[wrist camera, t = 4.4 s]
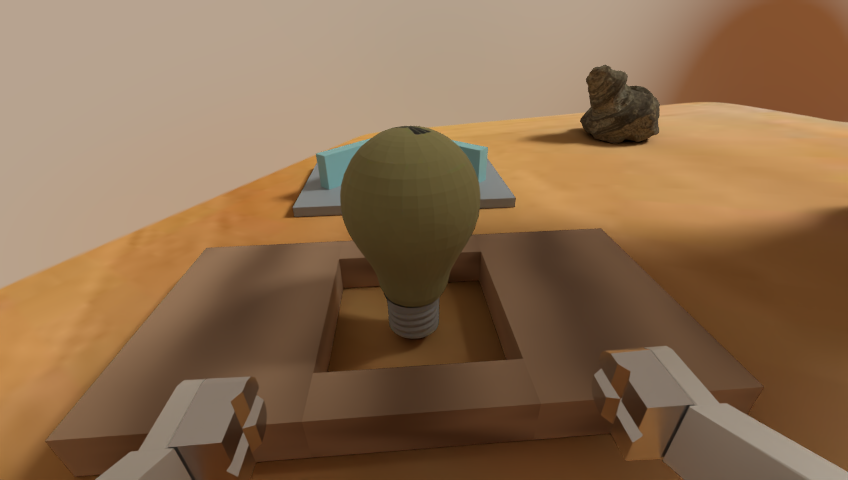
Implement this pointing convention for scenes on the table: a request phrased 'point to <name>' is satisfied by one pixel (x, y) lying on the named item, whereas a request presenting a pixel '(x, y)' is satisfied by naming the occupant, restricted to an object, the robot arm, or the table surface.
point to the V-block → (332, 164)
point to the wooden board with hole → (402, 386)
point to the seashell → (619, 108)
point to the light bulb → (411, 218)
